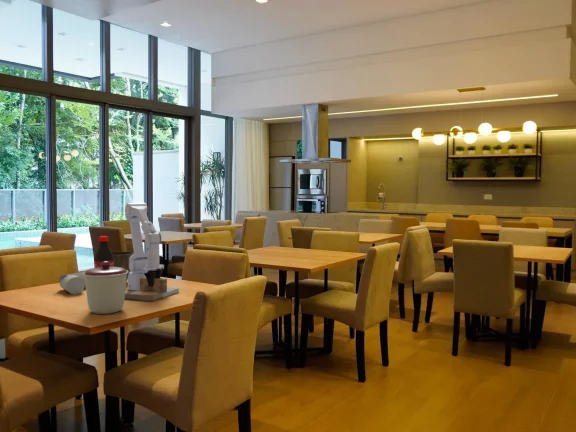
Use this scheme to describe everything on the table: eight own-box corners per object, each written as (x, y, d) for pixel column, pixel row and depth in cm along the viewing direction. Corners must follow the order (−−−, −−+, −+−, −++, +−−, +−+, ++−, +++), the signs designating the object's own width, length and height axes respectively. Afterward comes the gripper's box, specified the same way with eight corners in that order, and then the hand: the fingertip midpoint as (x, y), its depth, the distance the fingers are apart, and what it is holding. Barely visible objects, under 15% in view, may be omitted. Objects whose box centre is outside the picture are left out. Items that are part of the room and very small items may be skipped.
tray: (123, 298, 243) (123, 293, 243) (134, 295, 250) (134, 290, 250) (152, 301, 237) (152, 296, 237) (162, 298, 245) (162, 292, 245)
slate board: (135, 295, 250) (135, 291, 250) (153, 290, 263) (153, 286, 263) (162, 297, 245) (162, 293, 245) (178, 292, 258) (178, 288, 258)
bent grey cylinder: (51, 286, 266) (62, 293, 250) (56, 266, 267) (66, 271, 251) (87, 290, 277) (98, 296, 261) (91, 270, 278) (103, 275, 262)
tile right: (141, 298, 242) (141, 294, 242) (149, 295, 247) (149, 292, 247) (152, 299, 240) (152, 295, 239) (159, 296, 245) (159, 293, 245)
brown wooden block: (139, 290, 252) (139, 278, 252) (144, 289, 255) (144, 277, 255) (162, 292, 247) (162, 279, 247) (166, 291, 251) (166, 278, 250)
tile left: (128, 297, 244) (128, 293, 244) (136, 294, 250) (136, 290, 250) (139, 298, 242) (139, 294, 242) (147, 295, 248) (147, 291, 248)
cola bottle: (96, 305, 229) (94, 237, 227) (93, 301, 237) (92, 235, 235) (116, 303, 233) (115, 236, 231) (113, 299, 240) (111, 234, 239)
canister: (135, 312, 216) (134, 262, 215) (89, 319, 206) (88, 265, 205) (121, 304, 231) (120, 257, 230) (78, 310, 220) (77, 260, 219)
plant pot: (98, 283, 283) (98, 253, 282) (121, 279, 295) (121, 250, 294) (116, 286, 274) (115, 255, 273) (139, 281, 286) (138, 252, 286)
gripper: (151, 259, 242) (151, 289, 243) (169, 256, 256) (169, 283, 256) (138, 259, 245) (138, 287, 246) (157, 255, 258) (157, 282, 259)
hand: (153, 285), depth 251 cm, fingers closed on brown wooden block, 3 cm apart
